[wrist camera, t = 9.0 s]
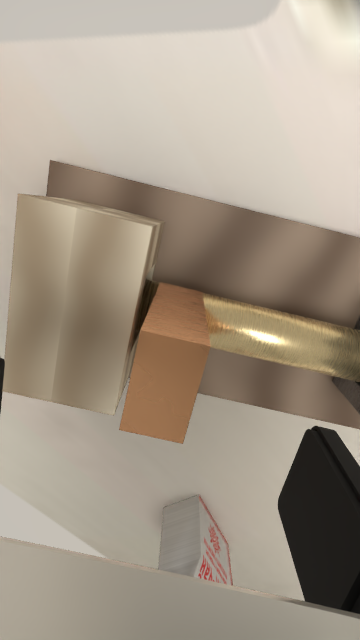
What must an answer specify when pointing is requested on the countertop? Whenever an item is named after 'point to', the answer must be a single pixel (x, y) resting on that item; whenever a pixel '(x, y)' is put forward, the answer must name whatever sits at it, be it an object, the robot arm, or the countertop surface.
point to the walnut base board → (243, 280)
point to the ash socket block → (76, 300)
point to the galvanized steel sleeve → (350, 385)
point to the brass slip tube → (223, 334)
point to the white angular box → (193, 543)
